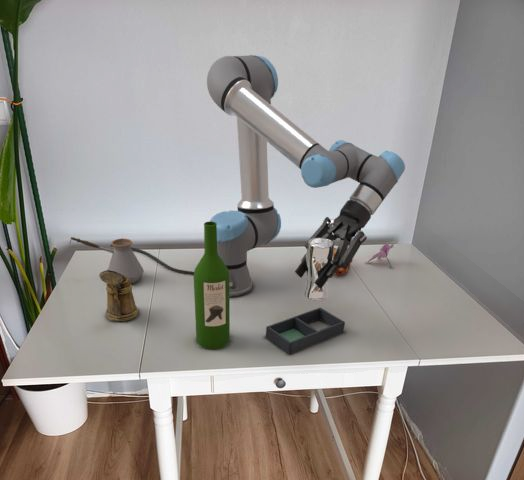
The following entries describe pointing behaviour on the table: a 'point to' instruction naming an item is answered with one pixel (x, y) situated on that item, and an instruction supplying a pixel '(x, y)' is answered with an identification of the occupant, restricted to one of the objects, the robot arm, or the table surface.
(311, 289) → the beer glass
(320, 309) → the rectangular tray
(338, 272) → the croissant
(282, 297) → the table surface
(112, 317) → the wooden mug
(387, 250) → the lily
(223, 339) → the wine bottle
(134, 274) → the coffee pot
